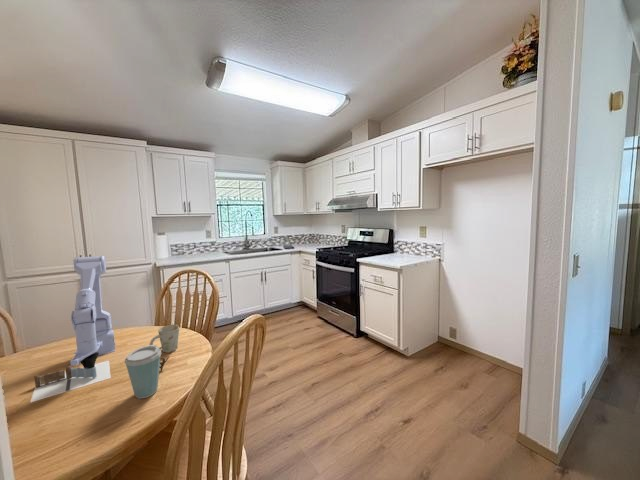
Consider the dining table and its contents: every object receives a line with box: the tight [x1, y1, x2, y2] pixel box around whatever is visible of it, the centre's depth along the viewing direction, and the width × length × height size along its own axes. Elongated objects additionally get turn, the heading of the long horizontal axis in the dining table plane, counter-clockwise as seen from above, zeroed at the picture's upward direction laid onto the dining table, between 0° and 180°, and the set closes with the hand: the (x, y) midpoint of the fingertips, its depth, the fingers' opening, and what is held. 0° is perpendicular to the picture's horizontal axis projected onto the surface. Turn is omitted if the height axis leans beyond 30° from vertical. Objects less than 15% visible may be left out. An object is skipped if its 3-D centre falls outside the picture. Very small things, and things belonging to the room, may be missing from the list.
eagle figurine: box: [159, 356, 170, 372], centre depth 108 cm, size 8×7×9 cm
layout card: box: [30, 360, 112, 404], centre depth 102 cm, size 21×16×1 cm
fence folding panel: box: [71, 367, 97, 378], centre depth 102 cm, size 9×1×4 cm, turn 89°
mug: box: [149, 324, 180, 353], centre depth 122 cm, size 8×13×10 cm, turn 148°
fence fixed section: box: [34, 365, 72, 388], centre depth 99 cm, size 10×2×4 cm, turn 130°
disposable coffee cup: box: [124, 344, 163, 399], centre depth 93 cm, size 11×11×15 cm
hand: (89, 373), depth 103 cm, fingers closed, pressing on fence folding panel
